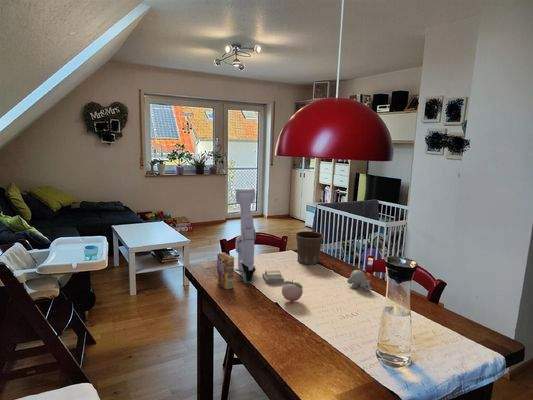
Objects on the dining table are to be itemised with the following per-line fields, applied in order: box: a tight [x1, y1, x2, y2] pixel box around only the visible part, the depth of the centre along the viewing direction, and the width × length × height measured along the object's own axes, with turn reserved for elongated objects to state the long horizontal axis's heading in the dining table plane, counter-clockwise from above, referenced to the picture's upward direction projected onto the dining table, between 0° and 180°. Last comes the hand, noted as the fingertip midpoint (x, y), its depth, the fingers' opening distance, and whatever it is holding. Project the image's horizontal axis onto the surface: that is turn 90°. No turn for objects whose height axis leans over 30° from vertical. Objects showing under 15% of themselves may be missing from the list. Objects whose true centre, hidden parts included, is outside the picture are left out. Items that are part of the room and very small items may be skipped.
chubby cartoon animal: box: [346, 269, 372, 293], centre depth 164 cm, size 7×12×8 cm, turn 37°
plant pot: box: [295, 230, 325, 266], centre depth 198 cm, size 16×16×16 cm
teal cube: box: [242, 272, 254, 284], centre depth 169 cm, size 4×4×4 cm
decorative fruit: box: [281, 279, 304, 303], centre depth 148 cm, size 9×8×10 cm
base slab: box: [261, 272, 285, 285], centre depth 172 cm, size 9×9×2 cm
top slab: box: [264, 268, 282, 279], centre depth 172 cm, size 7×7×2 cm
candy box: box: [216, 252, 235, 290], centre depth 163 cm, size 9×4×15 cm, turn 39°
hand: (247, 278), depth 169 cm, fingers open, 6 cm apart
